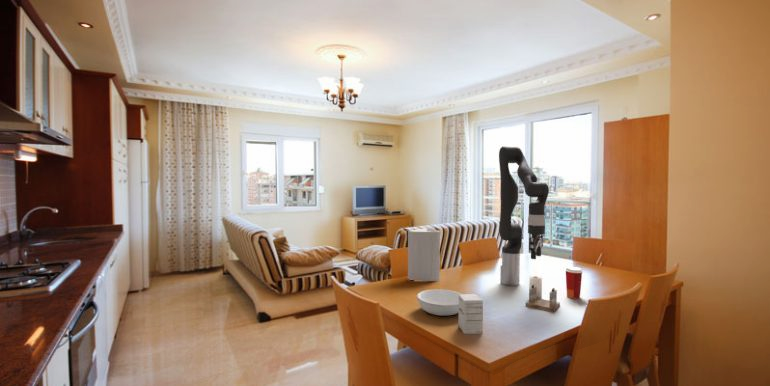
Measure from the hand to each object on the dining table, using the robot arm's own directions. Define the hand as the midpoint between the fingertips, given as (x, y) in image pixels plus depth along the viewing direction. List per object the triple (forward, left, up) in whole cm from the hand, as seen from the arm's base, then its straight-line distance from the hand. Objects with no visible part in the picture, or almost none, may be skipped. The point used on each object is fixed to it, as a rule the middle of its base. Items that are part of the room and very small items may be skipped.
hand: (536, 257), depth 175 cm
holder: (+6, -10, -20) cm, 23 cm away
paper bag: (-59, -3, -20) cm, 62 cm away
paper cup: (+14, +13, -20) cm, 27 cm away
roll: (0, 0, -20) cm, 20 cm away
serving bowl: (-26, -45, -20) cm, 56 cm away
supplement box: (-8, -55, -20) cm, 59 cm away
